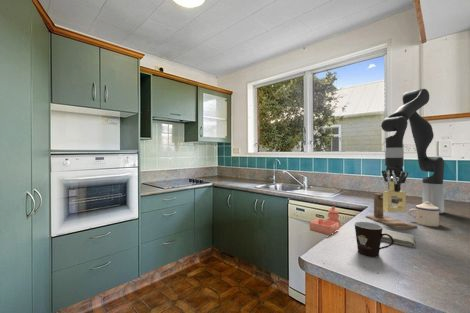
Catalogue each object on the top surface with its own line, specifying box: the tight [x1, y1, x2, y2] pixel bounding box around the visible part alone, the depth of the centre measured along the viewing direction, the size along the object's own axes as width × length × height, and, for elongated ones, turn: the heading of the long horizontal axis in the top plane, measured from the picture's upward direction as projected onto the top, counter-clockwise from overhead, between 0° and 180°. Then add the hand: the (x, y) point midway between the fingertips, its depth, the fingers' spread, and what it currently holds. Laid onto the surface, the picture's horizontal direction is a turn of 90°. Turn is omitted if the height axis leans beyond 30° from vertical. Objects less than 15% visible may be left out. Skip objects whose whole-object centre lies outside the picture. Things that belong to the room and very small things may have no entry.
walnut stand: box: [365, 192, 418, 230], centre depth 113 cm, size 20×11×14 cm, turn 9°
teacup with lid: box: [408, 202, 440, 227], centre depth 111 cm, size 12×9×12 cm
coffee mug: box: [354, 221, 395, 258], centre depth 77 cm, size 12×9×10 cm
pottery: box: [309, 206, 342, 237], centre depth 105 cm, size 18×10×10 cm, turn 132°
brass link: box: [382, 180, 407, 213], centre depth 110 cm, size 10×3×15 cm, turn 98°
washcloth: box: [381, 228, 416, 248], centre depth 93 cm, size 12×18×3 cm, turn 52°
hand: (394, 191), depth 110 cm, fingers closed on brass link, 3 cm apart
